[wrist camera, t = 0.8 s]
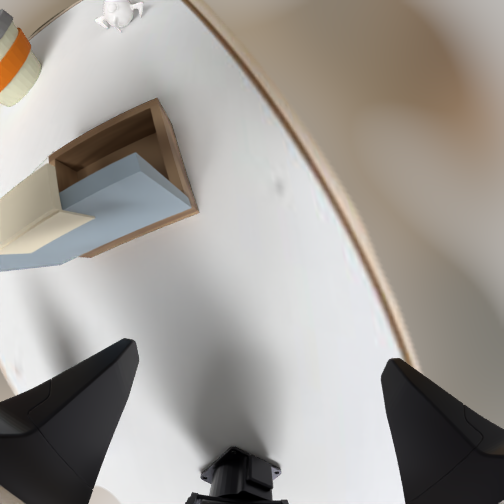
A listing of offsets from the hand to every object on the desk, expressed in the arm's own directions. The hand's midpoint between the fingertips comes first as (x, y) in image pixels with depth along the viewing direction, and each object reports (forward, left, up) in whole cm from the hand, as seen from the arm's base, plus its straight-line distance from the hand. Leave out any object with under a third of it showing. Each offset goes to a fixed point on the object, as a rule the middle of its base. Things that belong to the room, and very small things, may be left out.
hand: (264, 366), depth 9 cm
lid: (-1, +13, -5) cm, 14 cm away
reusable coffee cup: (+4, +50, -16) cm, 53 cm away
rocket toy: (+20, +38, -16) cm, 45 cm away
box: (+1, +16, -15) cm, 23 cm away
